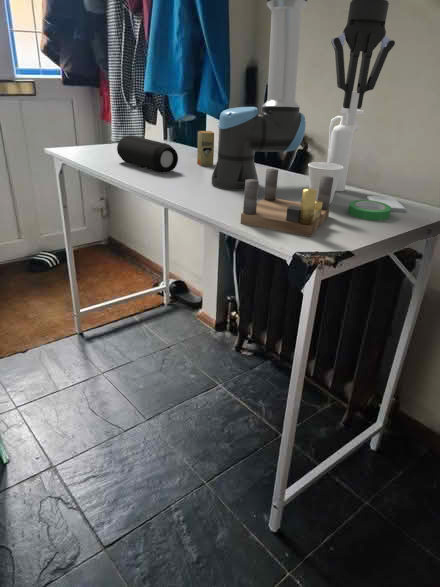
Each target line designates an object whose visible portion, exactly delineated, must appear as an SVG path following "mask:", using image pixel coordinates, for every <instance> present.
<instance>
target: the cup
mask: <svg viewBox="0 0 440 587" xmlns="http://www.w3.org/2000/svg"><path fill="white" fill-rule="evenodd" d="M307 166H308V180H309V182H308V183H309V184H308V185H309V186H308V188H314V189H316V190H317V194H316V200H317V199H318V192H319V185H320V179H321V176H330V177H333V184H332V190H331V197H330V203H329V206H330V205H331V204H332V202H333V199H334V196H335V193H336V191H335V190H336V187H337V184H338V181H339V178H340V175H341V172H342V169H343V168H344V167H343V166H342V165H339V164H335V163H328V162H327V161H313V162H309V163H308V164H307Z"/></svg>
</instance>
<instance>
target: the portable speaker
mask: <svg viewBox="0 0 440 587" xmlns="http://www.w3.org/2000/svg"><path fill="white" fill-rule="evenodd" d="M116 151H117V154H118V156H119V157H120V159H121V160H122V161H123V162H124V163H127V164H129V165H130V164H131V165H133V166H137V167H141V168H142V169H143V168H144V169H147V170H150V171H153V172H156V173H161V174H166V173H169V172H172V171H173V170H174V169H175V168H176V167H177V165H178V161H179V156H178V151H177V150H176V149H175V148H174V147H173V146H172V145H171V144H169V143H165V142H160V141H158V140H153V139H148V138H143V137H140V136H136V135H126V136H123V137H122V138H121V139H120V140H119V141H118V143H117V146H116Z"/></svg>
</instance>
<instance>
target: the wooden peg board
mask: <svg viewBox="0 0 440 587" xmlns="http://www.w3.org/2000/svg"><path fill="white" fill-rule="evenodd" d="M278 176H279V169H277V168H266V171H265V179H264V180H265V182H264V191H263V192H264V193H263V194H264V195H263V198H262V199H260V201H258V193H259V183H260V182H259V179H258V180H254V179H247V180H245V190H244V194H243V195H244V196H243V206H242V209H243V210H242V211H243V212H241V214H240V224H243V225H247V226H248V225H249V226H254V227H260V228H264V229H268V230H269V229H270V230H274V231H280V232H284V233H285V232H286V233H291V234H296V235H301V236H306V237H312V236H313V235H314V233H315V232H317V230H318V229H319V228H320V227H321V226H322V224H323V223H324V222H325V221H326V220H327V218H329V215H330V209H331V208H330V205H329V203H330V197H331V190H332V184H333V177H330V176H321V179H320V185H319V192H318V199H317V200H318V201H322V202H323V204H322V210H321V214H320V216H319V217H318V218H317V219H316V220H315V221H314V222H312V223H311V224H303V223H300V222H299V216H300V208H301V201H300V202H299V201H293V200H286V199H280V198H277V197H276V196H277V186H278Z"/></svg>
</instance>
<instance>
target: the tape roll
mask: <svg viewBox="0 0 440 587" xmlns="http://www.w3.org/2000/svg"><path fill="white" fill-rule="evenodd" d="M391 212H392V211H391V207H390V206H389V205H387V204H385V203H382V202H378V201H372V200H367V199H356V200H352V201H350V202H349V205H348V210H347V213H348V214H349V215H350V216H352V217H354V218H357V219H360V220H361V219H362V220H366V221H375V222H376V221H386V220H389V218H390V215H391Z"/></svg>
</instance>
